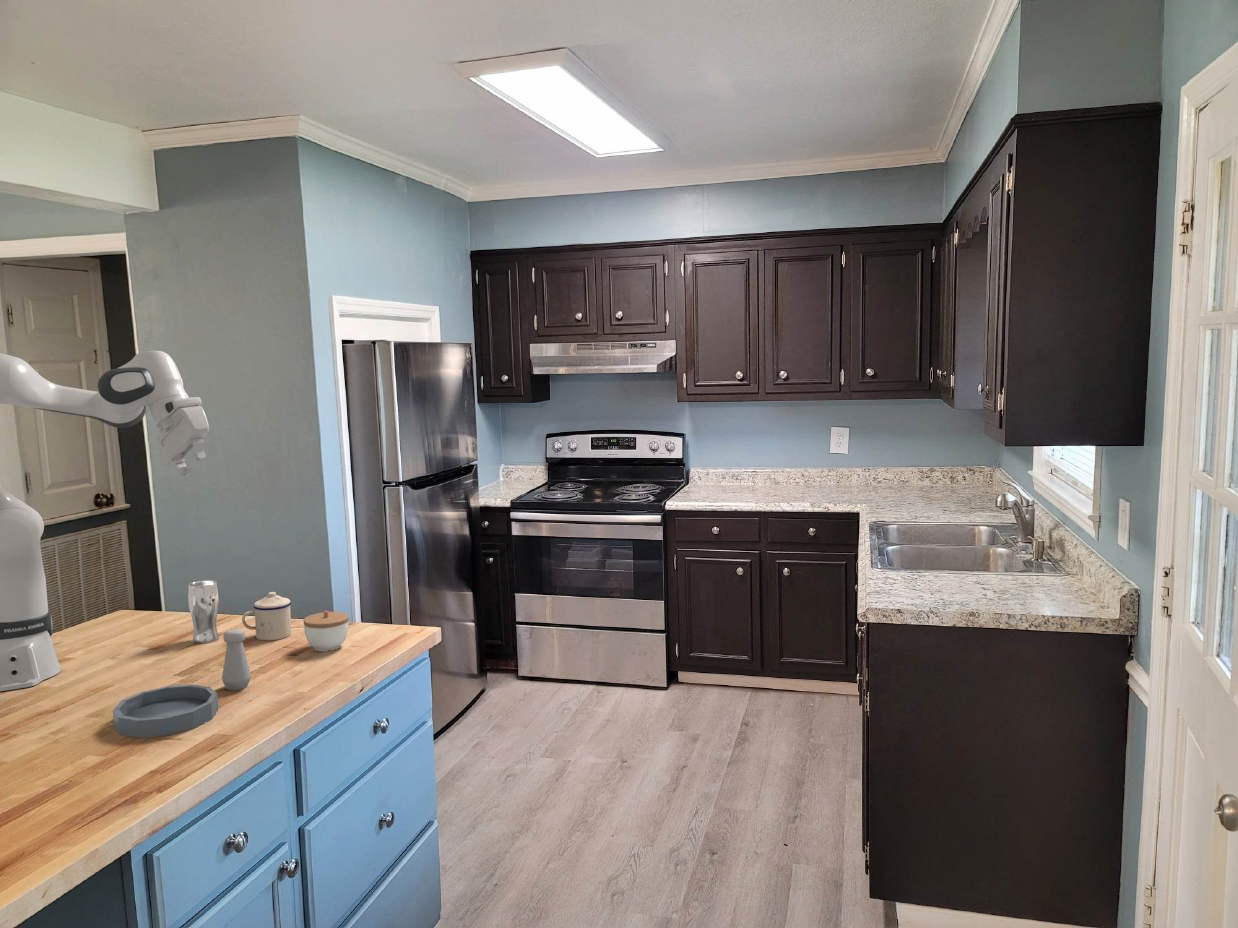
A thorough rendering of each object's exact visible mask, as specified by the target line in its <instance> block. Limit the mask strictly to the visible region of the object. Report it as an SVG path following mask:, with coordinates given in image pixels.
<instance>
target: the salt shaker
mask: <svg viewBox="0 0 1238 928" xmlns="http://www.w3.org/2000/svg"><path fill="white" fill-rule="evenodd" d="M245 638H246V634H245V630H243V629H241V628H231V629H228V630H226V631H225V632H223V642H224V643H226V650H225V656H224V661H223V670H222V676H221V679H222V683H223V685H224V686H225V689H226V691H232V692H236V691H242V690H244V689H245V688H248V685H249V683H250V680H251V677H252V676H251V675H252V674H251V669H250V666H249V662H248V659H247V654H246V650H245V646H244V643H243V641H244V640H245Z"/></svg>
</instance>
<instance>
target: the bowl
mask: <svg viewBox="0 0 1238 928" xmlns="http://www.w3.org/2000/svg"><path fill="white" fill-rule="evenodd" d="M218 711H219V697H218V692H216V691H215V690H214V689H213V688H212V687H211V686H205V685H199V684H180V685H179V684H177V685H167V686H161V687H158V688H154V689H149V690H145V691H141V692H139V693H136V694H132V696H129V697H127V698H125V699H123V700H121V701H120V702H118V704H117V705H116V706H115V707H114V708H113V709H112V718H113V728H114V730H115V731H116V732H117V734H118V735H119V736H122V737H123V736H124V737H128V738H136V739H146V738H147V739H149V738H160V737H167V736H172V735H175V734H179V733H183V732H186V731H190V730H194V729H196V728H198V727H200V726H202V725H204V724H206V723H208V722H210V721H212V720H213V719H214V717H215V716H216V714H217V713H216V712H218ZM214 715H215V716H214ZM211 719H212V720H211ZM209 720H210V721H209ZM205 722H206V723H205Z"/></svg>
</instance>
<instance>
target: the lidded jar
mask: <svg viewBox="0 0 1238 928" xmlns="http://www.w3.org/2000/svg"><path fill="white" fill-rule="evenodd" d="M349 619H350V618H349V614H347V613H345V612H341V611H340V612H339V611H328V610H324V611H322V612H319V613H318V612H317V613H313V614H309V615H308V616H306V617H305V618H303V627H304V628H303V629H304V635H305V639H306V641H307V643H308V644H309V645H310V646H311V647H312V648H313V649H314V651H316V650H319V651H318V652H329V651H328V650H332V651H335V650H334V649H336V650H338V649H339V648H340V647H341V646H342V644H343V643H344V642H345V641H346V638H347V636H348V632H349Z"/></svg>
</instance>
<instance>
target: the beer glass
mask: <svg viewBox="0 0 1238 928" xmlns="http://www.w3.org/2000/svg"><path fill="white" fill-rule="evenodd" d="M217 583H218V581H216V580H212V579H211V580H208V579H205V580H198V581H193V582H190V583H188V585H187V586H188V590H187V593H188V594H187V595H188V596H187V603H188V608H189V609H188V610H189V612H190V613H189V614H190V617H191V620H192V625H193V635H192V643H194V644H208V643H213V642H216V641H218V640H219V637H220V635H219V632H218V629H217V617H218V612H219V591H218V585H217Z"/></svg>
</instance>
